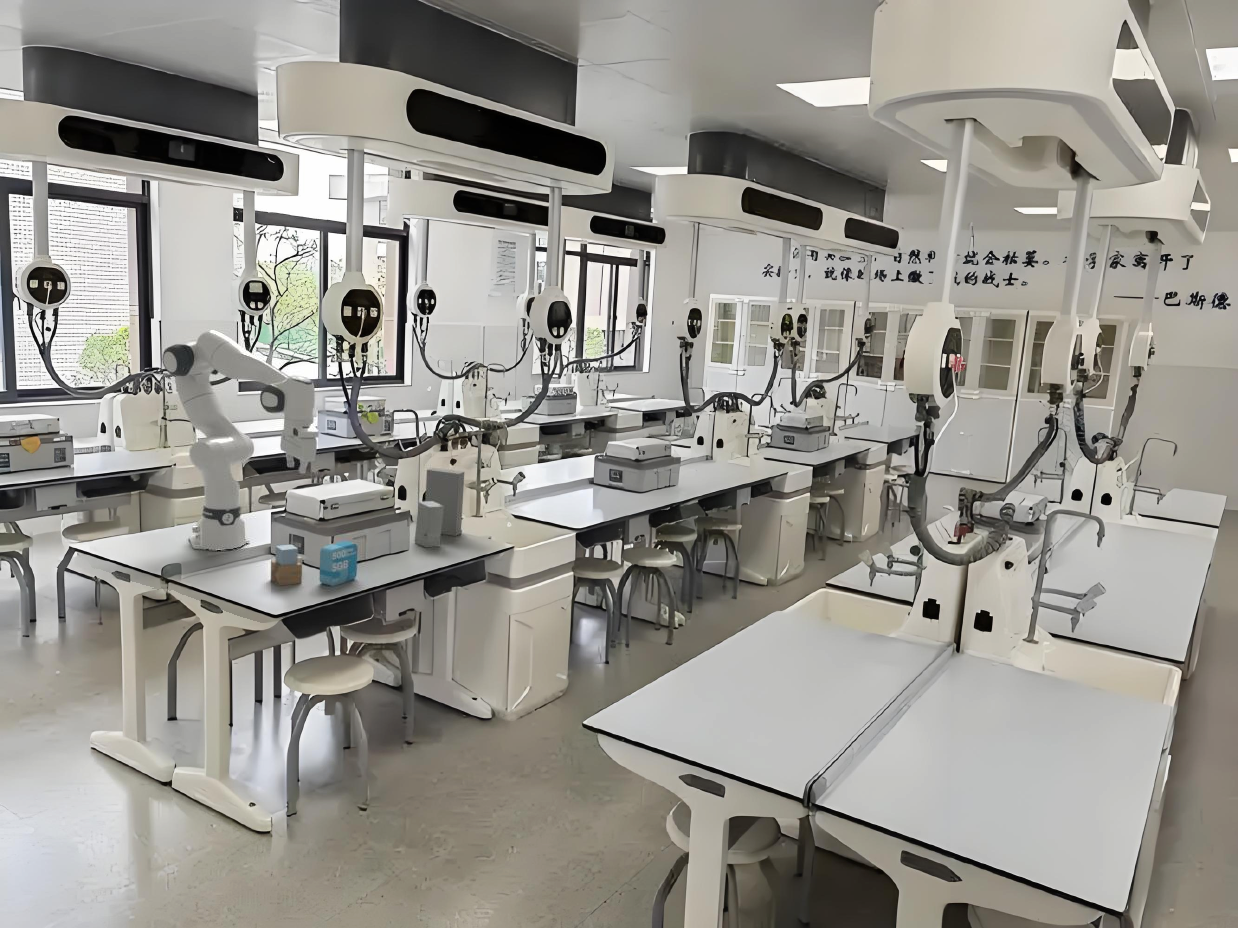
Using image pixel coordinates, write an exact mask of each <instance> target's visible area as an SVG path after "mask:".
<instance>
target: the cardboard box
mask: <svg viewBox="0 0 1238 928" xmlns="http://www.w3.org/2000/svg"><path fill="white" fill-rule="evenodd" d="M270 562H271V563H270V565H271V566H270V581H272V582H273V583H275V584H276V585H278V586H279V587H280V586H281V587H282V586H286V585H287V586H288V585H289V586H290V585H293V584H294V585H295V584H302V580H303V579H302V578H303V576H302V574H303V563H302V564H301V563H299V562H298V564H292V565H284V566H281V565H280V564H278V563H277V562H276V560H271V561H270Z"/></svg>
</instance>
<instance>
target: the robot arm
mask: <svg viewBox="0 0 1238 928" xmlns="http://www.w3.org/2000/svg"><path fill="white" fill-rule="evenodd" d="M162 364H163V367H164V369H165V370H166V372H167V373H169V374H170V375H171V376H174V377H175V378H174V383H175V387H176V391H177V395H178V397H179V400H180V402H181V405H182V408H183V409H184V411H185V414H186V415H187V418H188V420H189V423H190V424H191V426H192V427H193V428H194V429H196V430H198V431H199V432H201V433H202V434H203V435H204V436H205V437H204V438H202V439H200V440H198V441H196V442H194V443H193V444H192V445H191V446H190V448H189V459H190V462H191V464H192V465H193V466H194V467H195V468H197V470H198V471H199V473H200V475H201V478H202V480H203V486H204V505H203V508H202V516H201V518H200V519H199V520H198V521H196V525H193V526H192V529H191V530H192V533H193V534H190V535H188V538H189V539H188V540H189V541H190V542H189V543H190V544H191V547H192V549H194V550H206V549H209V550H208V551H217V550H216V549H232V548H237V547H240V546H242V545H244V544H245V543H247V542H249V543H250V539H248V538H246V526H245V525H246V523H245V520H243V519H242V518H241V512H242V508H241V505H240V496H241V495H240V488H241V487H240V483H239V482H238V481H237V480H236V479H234V477H233V475H232V472H231V467H232V466H237V465H240V464H243V463H244V462H246V461H247V460H249V459H250V458H251V457H252V456H253V455H254V452H255V444H254V442H253V440H252V439H251V437H249V436H248V435H246V434H245V433H243V432H242V431H240V430H239V429H238V428H237V427H236V426H235V424H234V423H233V422H232V421H231V420H230V419H229V417H228V416H227V415H226V413H225V411H224V409H223V407H222V404H221V403H220V400H219V399H218V397H217V394H216V393H215V390H214V388H213V386H212V384H211V382H210V376H211V375H215V376H216V375H218V374H221V375H223V376H224V377H227V378H228V379H233V380H238V381H239V380H241V381H242V380H244V381H252V382H260V383H263V384H265V385H264V387H263V388H262V389H261V391H260V396H259V400H260V404H261V407H262V408H263V410H265V412H267V413H270V414H284V417H283V428H282V431H281V436H280V450H281V451H282V452H284V453H285V457H286V466H287V467H288V468H295V461H294V458H295V459H298V460H299V463H300V465H299V467H298V473H299V474H302V475H303V474H306V472H307V467H308V465H309V463H311V462H314V461H315V459H316V456H317V448H318V447H317V445H318V443H317V442H318V441H317V438H318V439H319V430H318V429H317V428H316V425H315V423H314V421H315V419H314V413H313V412H314V409H315V404H316V403H315V401H316V400H315V398H316V397H315V396H316V395H315V394H316V393H315V386H314V381H312V379H310V378H308V377H306V376H301V375H291V376H290V375H288V374H286V373H284V372H283V371H281V369H279V368H277V367H275V366H274V365H272V364H270V363H269V362H267V361H265V360H263V359H262V358H260V357H258V356H257V355H255V354H253V353H252V352H250V351H248V350H247V349H246V348H244V347H243V346H241V345H240V344H238V342H236V341H235V340H233V339H232V338H230V337H229V336H227V335H226V334H223V333H222V332H219V331H216V330H211V329H210V330H207V331H204V332H202V333H201V334H200V335H199V337H198V338H197V339H196V340H195V339H194V340H191V341H187V342H182V343H180V344H179V343H177V344H173V345H171V346H168V347H167V348H165V349H164V351H163V353H162ZM245 545H246V544H245ZM245 545H244V546H245ZM211 549H212V550H211ZM213 549H214V550H213ZM237 549H238V548H237Z"/></svg>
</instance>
